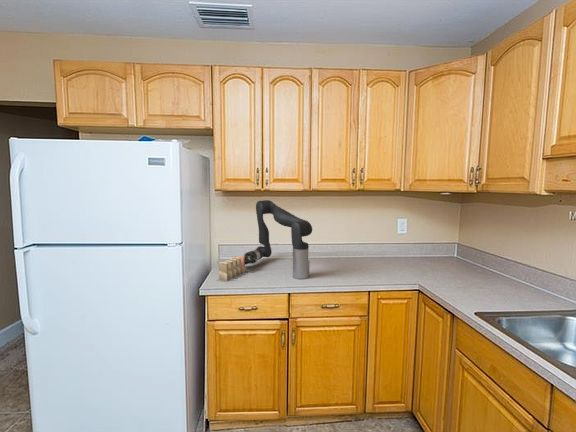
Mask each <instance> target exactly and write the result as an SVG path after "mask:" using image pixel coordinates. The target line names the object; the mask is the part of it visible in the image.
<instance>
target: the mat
mask: <svg viewBox="0 0 576 432" xmlns="http://www.w3.org/2000/svg"><path fill="white" fill-rule="evenodd" d="M247 273H249V271H245V273H241V275H237V277H233V279H228V281H222V280H219V278H218V279H216V280H215V281H216V282H221V283H229V282H231V281H233V280H235V279H237V278H240V277H241V276H244V275H245V274H247Z"/></svg>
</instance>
